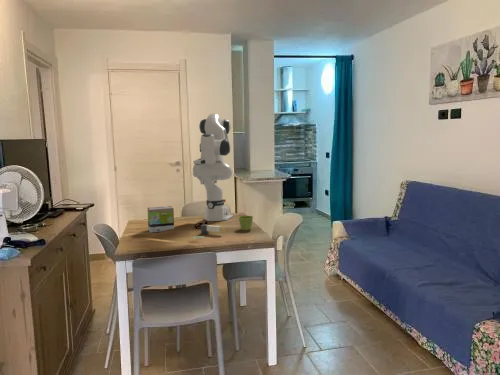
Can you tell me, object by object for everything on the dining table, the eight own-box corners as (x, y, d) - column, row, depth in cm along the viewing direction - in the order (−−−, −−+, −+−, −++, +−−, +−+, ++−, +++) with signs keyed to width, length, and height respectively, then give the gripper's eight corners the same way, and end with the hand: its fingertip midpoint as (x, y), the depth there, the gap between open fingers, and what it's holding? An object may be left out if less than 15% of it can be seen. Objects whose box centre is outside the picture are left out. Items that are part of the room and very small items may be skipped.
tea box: (150, 233, 247) (149, 209, 245) (148, 230, 256) (146, 207, 254) (174, 230, 252) (173, 207, 251) (171, 227, 262) (170, 205, 260)
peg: (199, 234, 237) (199, 225, 236) (203, 232, 241) (203, 224, 240) (220, 236, 230) (220, 227, 229) (225, 234, 234) (225, 226, 233)
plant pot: (236, 229, 250) (236, 216, 249) (251, 228, 253) (250, 215, 252) (240, 233, 242) (240, 219, 241) (255, 231, 244) (255, 217, 243)
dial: (199, 229, 254) (199, 227, 254) (233, 232, 243) (233, 230, 243) (175, 238, 232) (175, 236, 232) (211, 242, 221) (211, 240, 221)
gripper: (219, 160, 250) (219, 182, 251) (191, 161, 236) (191, 184, 238) (225, 160, 245) (225, 182, 246) (196, 161, 232) (197, 185, 233)
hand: (208, 183), depth 242 cm, fingers open, 8 cm apart
